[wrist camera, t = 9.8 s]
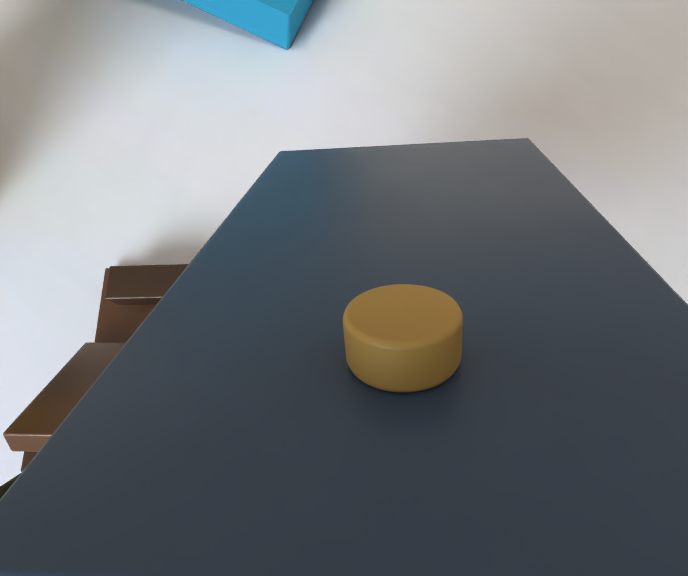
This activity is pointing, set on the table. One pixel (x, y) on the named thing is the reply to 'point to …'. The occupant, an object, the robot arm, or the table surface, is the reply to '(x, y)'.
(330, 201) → the blue-grey block
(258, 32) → the cyan rectangular eraser
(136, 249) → the table surface
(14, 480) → the robot arm
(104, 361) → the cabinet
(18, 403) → the table surface
